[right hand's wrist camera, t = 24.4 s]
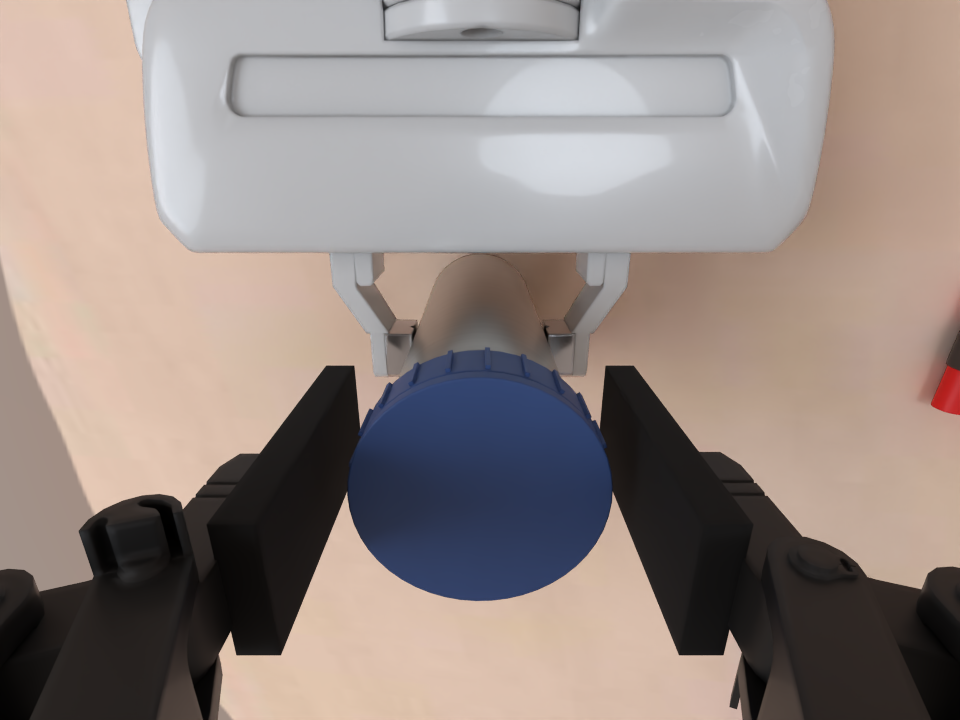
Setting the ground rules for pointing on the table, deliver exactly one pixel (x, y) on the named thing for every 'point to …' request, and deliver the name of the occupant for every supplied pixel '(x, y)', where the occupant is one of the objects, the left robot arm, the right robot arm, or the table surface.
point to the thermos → (479, 314)
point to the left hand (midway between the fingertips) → (481, 371)
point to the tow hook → (950, 383)
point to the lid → (480, 477)
